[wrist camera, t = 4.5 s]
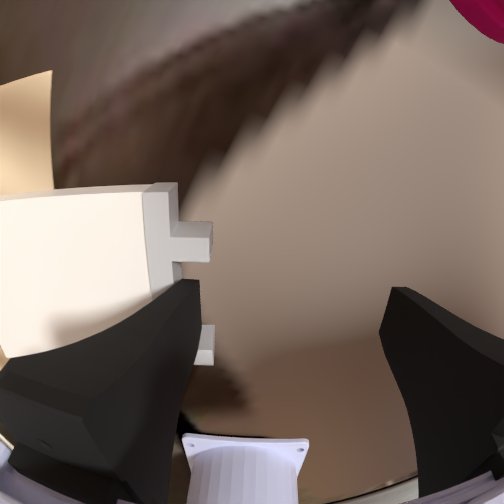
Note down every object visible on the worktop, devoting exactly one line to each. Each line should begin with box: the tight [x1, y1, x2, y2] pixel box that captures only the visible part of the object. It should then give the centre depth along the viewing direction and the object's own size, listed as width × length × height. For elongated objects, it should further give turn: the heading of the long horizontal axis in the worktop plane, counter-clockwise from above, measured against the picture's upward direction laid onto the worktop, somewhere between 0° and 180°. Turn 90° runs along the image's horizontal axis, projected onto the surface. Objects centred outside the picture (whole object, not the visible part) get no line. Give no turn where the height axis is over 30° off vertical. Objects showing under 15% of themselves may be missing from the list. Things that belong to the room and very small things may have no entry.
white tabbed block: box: [0, 182, 215, 365], centre depth 11 cm, size 8×11×2 cm
